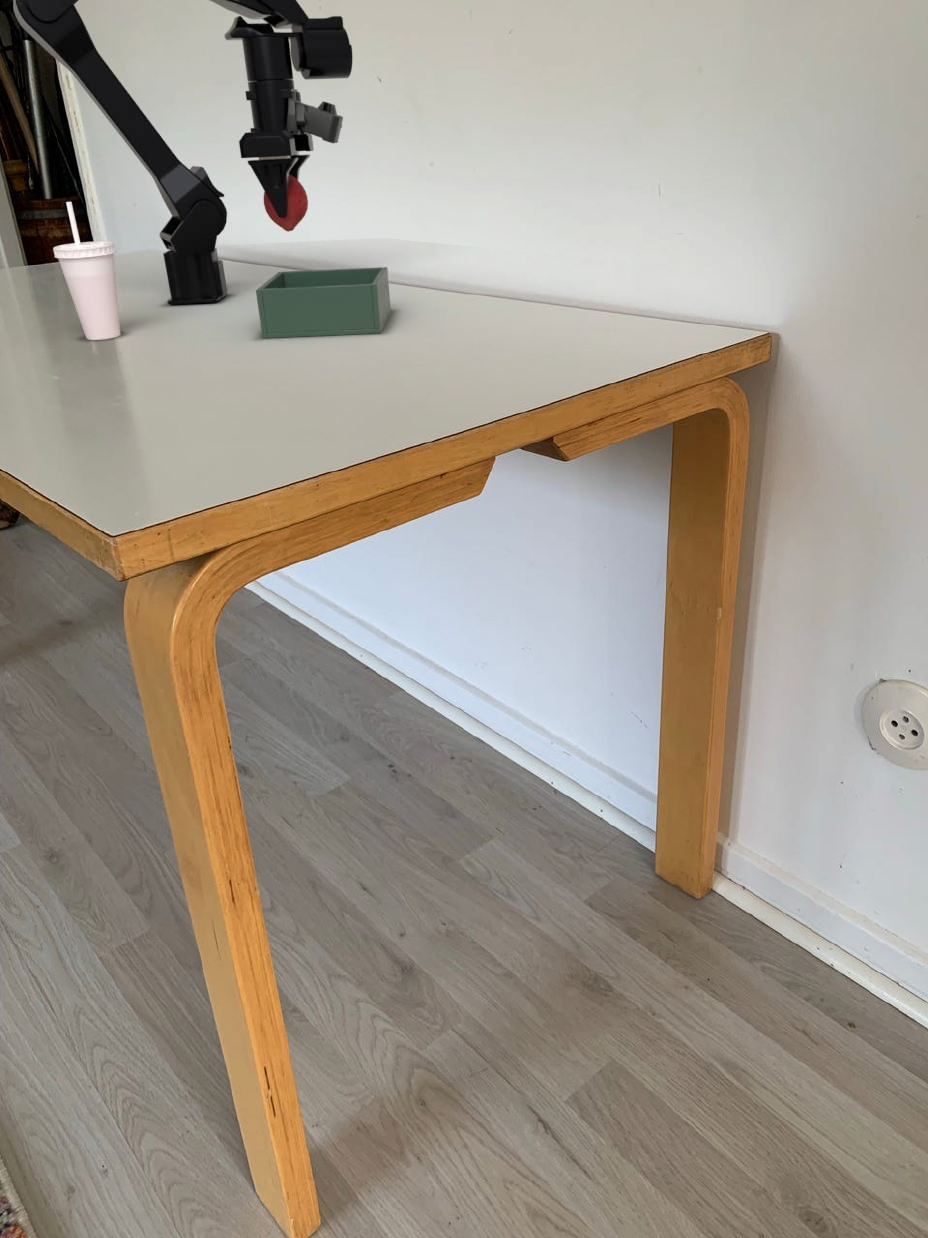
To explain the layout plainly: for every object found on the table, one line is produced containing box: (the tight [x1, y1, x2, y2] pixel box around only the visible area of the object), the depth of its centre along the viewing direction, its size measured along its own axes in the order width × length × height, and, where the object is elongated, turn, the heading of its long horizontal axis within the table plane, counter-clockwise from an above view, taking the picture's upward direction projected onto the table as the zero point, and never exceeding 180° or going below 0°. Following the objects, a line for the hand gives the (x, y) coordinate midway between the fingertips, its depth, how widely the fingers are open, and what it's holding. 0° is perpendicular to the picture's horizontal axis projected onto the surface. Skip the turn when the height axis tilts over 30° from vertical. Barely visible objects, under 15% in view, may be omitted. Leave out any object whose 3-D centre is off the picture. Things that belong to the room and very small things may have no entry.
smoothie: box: [52, 201, 122, 341], centre depth 104 cm, size 6×6×14 cm
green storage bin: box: [255, 266, 392, 339], centre depth 107 cm, size 13×13×5 cm
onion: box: [263, 174, 309, 232], centre depth 126 cm, size 6×6×8 cm
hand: (287, 215), depth 127 cm, fingers closed on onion, 6 cm apart
